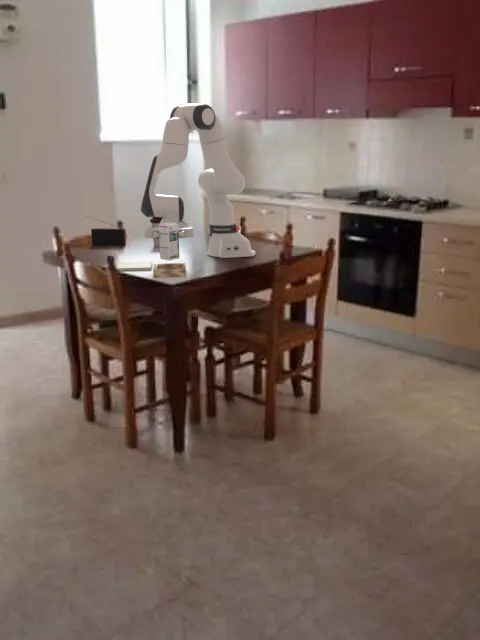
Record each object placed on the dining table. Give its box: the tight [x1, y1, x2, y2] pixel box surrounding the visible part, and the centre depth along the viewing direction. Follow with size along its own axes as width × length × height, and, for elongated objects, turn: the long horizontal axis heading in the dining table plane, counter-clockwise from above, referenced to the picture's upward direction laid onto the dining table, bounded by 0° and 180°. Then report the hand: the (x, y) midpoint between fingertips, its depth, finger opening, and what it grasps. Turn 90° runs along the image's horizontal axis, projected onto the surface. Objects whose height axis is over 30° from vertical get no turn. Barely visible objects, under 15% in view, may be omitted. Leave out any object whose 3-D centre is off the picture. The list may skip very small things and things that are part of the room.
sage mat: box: [116, 260, 153, 272], centre depth 312 cm, size 14×14×1 cm
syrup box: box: [159, 223, 180, 261], centre depth 296 cm, size 6×6×14 cm
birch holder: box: [152, 262, 187, 278], centre depth 299 cm, size 13×13×3 cm
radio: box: [86, 215, 127, 247], centre depth 363 cm, size 19×3×15 cm, turn 84°
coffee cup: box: [149, 217, 164, 248], centre depth 361 cm, size 10×10×15 cm
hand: (168, 235), depth 294 cm, fingers closed on syrup box, 8 cm apart
